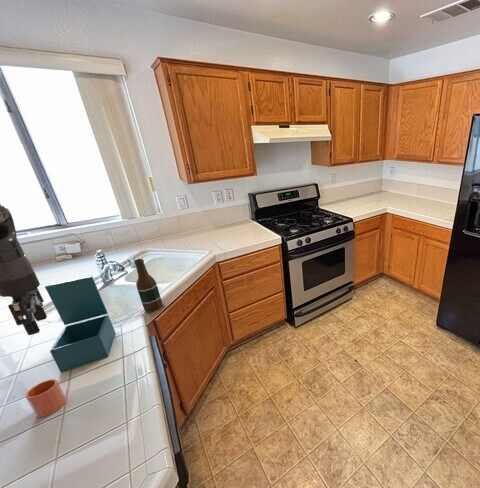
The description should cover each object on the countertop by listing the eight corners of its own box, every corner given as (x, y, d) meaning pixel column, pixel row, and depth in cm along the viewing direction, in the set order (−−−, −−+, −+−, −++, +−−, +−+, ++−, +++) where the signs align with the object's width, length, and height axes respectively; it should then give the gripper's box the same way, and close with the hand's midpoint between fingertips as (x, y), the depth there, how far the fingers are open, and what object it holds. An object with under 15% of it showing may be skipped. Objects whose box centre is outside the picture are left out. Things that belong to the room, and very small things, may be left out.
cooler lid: (91, 276, 95) (94, 270, 99) (44, 286, 89) (49, 279, 93) (107, 313, 101) (109, 306, 105) (64, 325, 95) (68, 317, 100)
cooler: (108, 356, 91) (99, 336, 89) (60, 372, 86) (49, 351, 83) (115, 333, 104) (108, 314, 101) (74, 345, 99) (65, 325, 96)
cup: (32, 421, 69) (21, 401, 67) (41, 404, 74) (31, 385, 72) (62, 410, 72) (52, 390, 70) (69, 394, 77) (60, 375, 75)
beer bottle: (167, 304, 123) (152, 257, 115) (150, 313, 116) (134, 264, 108) (156, 301, 126) (142, 255, 118) (140, 310, 119) (123, 262, 112)
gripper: (25, 279, 66) (51, 332, 71) (39, 263, 77) (60, 310, 82) (-20, 289, 62) (11, 345, 67) (1, 270, 73) (26, 320, 78)
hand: (38, 326), depth 75 cm, fingers open, 8 cm apart
